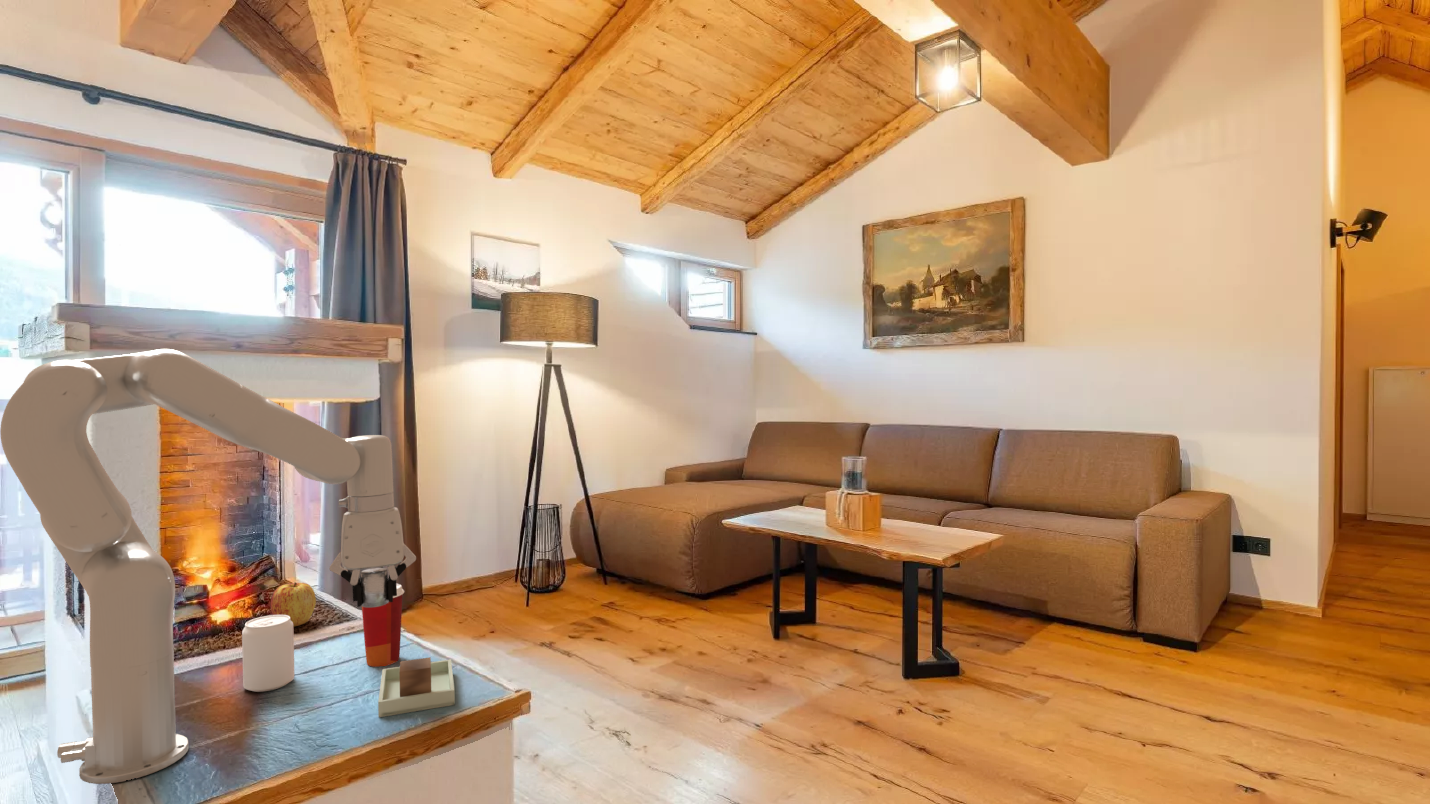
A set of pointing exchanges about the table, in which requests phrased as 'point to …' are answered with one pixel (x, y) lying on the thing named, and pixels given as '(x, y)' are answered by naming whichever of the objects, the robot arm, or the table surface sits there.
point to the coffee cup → (383, 631)
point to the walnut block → (415, 677)
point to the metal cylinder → (374, 587)
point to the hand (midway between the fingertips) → (375, 601)
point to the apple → (294, 602)
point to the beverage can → (268, 653)
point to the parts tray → (436, 698)
